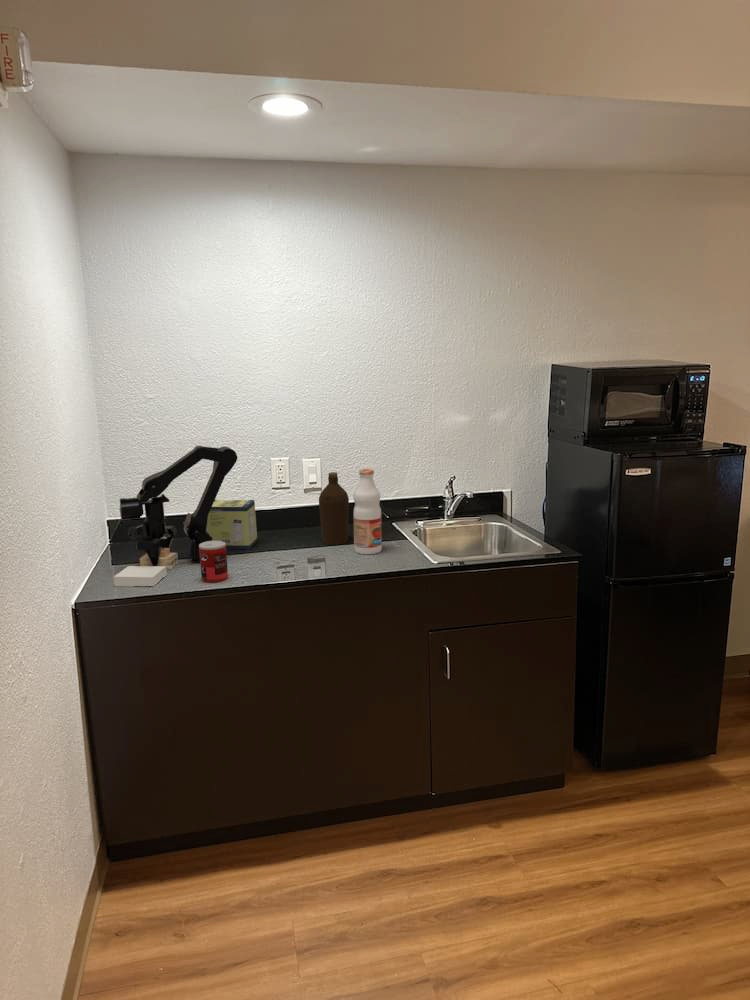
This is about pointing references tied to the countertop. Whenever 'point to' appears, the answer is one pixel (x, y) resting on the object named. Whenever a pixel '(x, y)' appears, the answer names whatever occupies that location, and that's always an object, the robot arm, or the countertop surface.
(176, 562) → the pallet
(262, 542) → the countertop surface
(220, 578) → the canned food
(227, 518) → the protein box
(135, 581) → the white flat block
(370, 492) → the fruit juice
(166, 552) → the block
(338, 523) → the olive oil
